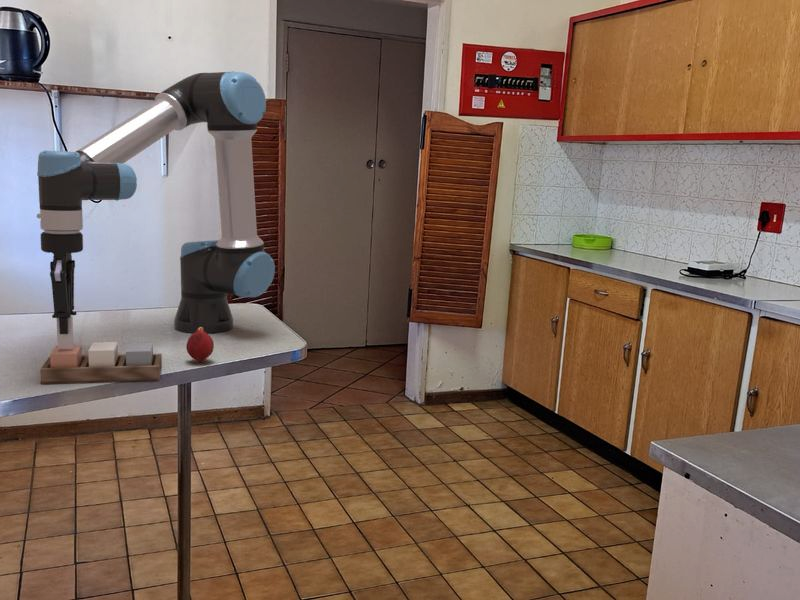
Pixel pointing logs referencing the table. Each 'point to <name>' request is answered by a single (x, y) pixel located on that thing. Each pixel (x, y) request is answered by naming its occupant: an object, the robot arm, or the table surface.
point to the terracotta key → (66, 357)
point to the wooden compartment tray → (101, 372)
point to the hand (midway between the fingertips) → (65, 348)
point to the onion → (200, 345)
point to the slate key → (139, 354)
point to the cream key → (103, 354)
